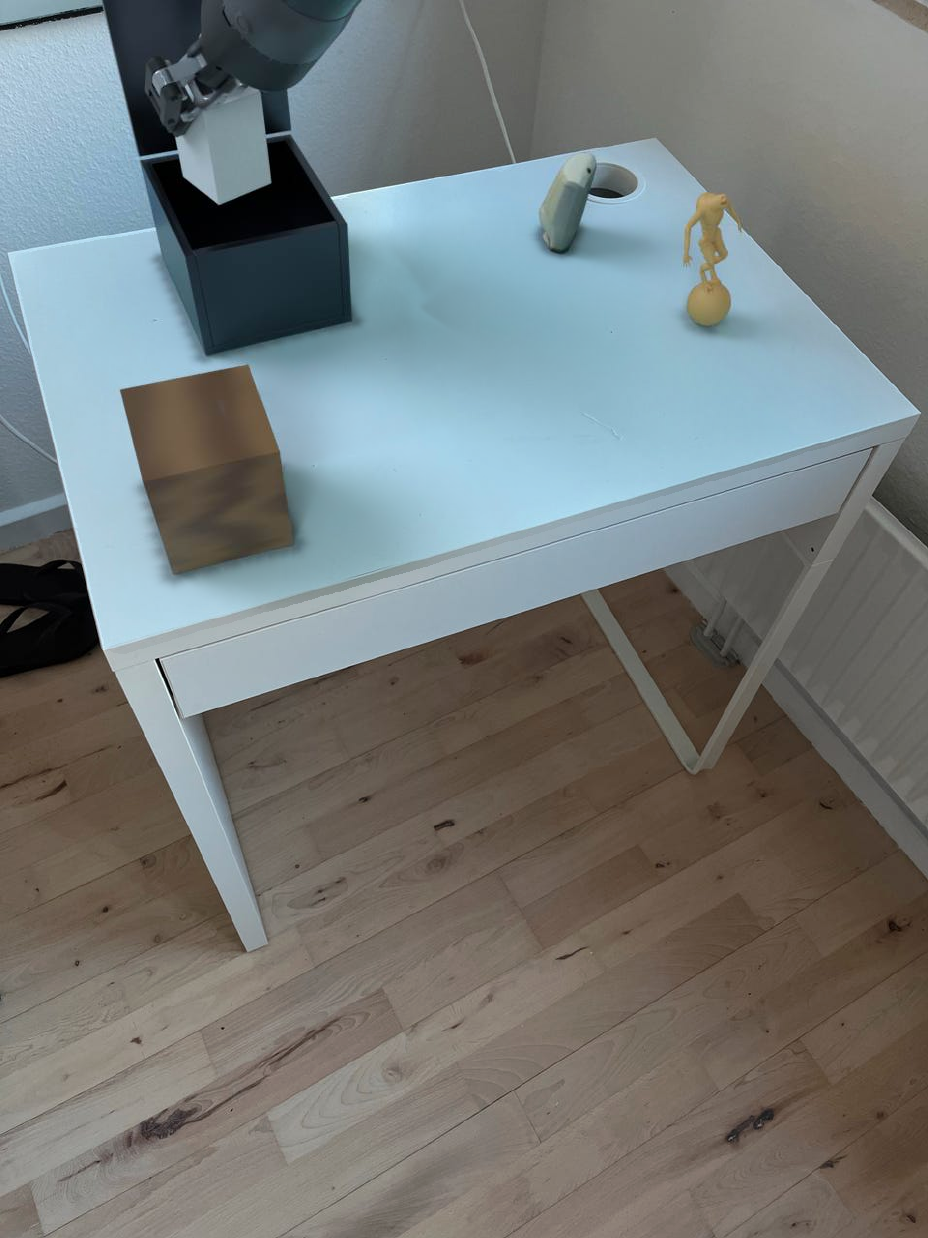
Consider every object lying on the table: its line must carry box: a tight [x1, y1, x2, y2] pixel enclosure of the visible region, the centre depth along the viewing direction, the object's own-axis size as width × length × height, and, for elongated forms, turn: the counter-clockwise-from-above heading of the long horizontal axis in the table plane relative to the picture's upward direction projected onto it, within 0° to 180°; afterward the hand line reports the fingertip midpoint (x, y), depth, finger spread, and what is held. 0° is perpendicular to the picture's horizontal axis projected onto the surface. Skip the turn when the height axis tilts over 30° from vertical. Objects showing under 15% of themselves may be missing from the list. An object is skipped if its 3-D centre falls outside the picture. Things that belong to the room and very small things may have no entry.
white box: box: [175, 84, 271, 205], centre depth 71 cm, size 5×5×8 cm
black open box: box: [139, 133, 353, 356], centre depth 83 cm, size 15×14×10 cm
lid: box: [100, 0, 292, 157], centre depth 77 cm, size 15×14×4 cm
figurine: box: [682, 191, 743, 327], centre depth 84 cm, size 8×6×12 cm
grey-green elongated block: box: [538, 151, 598, 255], centre depth 91 cm, size 6×5×8 cm
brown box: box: [119, 364, 294, 575], centre depth 68 cm, size 9×9×10 cm
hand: (203, 111), depth 71 cm, fingers closed on white box, 5 cm apart
